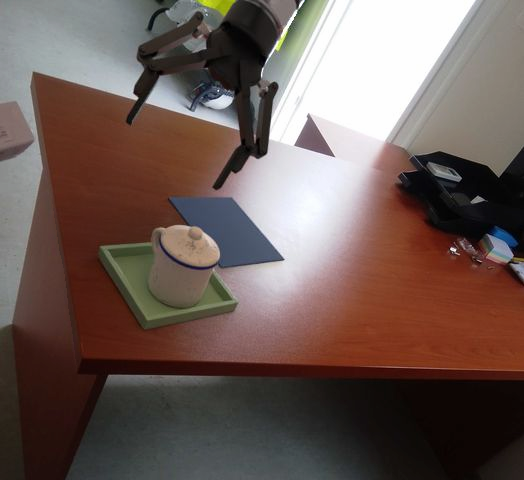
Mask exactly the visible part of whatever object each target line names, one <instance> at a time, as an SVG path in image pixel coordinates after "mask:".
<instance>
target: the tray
mask: <svg viewBox="0 0 524 480" xmlns="http://www.w3.org/2000/svg"><path fill="white" fill-rule="evenodd" d="M97 258H98V259H99V261H100V262H101V264H102V265H103V267H104V269H105V271H106V272H107V274H108V275H109V277H110V279H111V280H112V281H113V283H114V285H115V286H116V288H117V289H118V291H119V292H120V294H121V296H122V298H123V299H124V301H125V302H126V304H127V306H128V307H129V308H130V310H131V312H132V313H133V315H134V316H135V318H136V320H137V321H138V323H139V325H140V326H141V328H142V329H143V330H144V331H145V330H151V329H155V328H160V327H161V328H162V327H166V326H169V325H175V324H178V323H185V322H188V321H194V320H199V319H203V318H208V317H213V316H217V315H221V314H226V313H232V312H235V311H236V309H237V307H238V305H239V301H238V299H237V298H236V297H235V296H234V294H233V293H232V292H231V290H230V289H229V288H228V286H227V285H226V283H225V282H224V281H223V280H222V278H221V277H220V275H218V273H217V272H216V270H215V268H214V269H213V272H212V274H211V276H210V278H209V281H208V283H207V285H206V288H205V290H204V292H203V294H202V297H201V299H200V301H199V302H198V303H197V304H196V305H194V306H192V307H188V308H176V307H172V306H169V305H166V304H164V303H162V302H161V301H159V300H158V299H157V298H156V297H155V296H154V295H153V294H152V293H151V291H150V290H149V287H148V277H149V274H150V271H151V268H152V265H153V262H154V259H155V254H154V252H153V250H152V245H151V241H150V242H149V241H148V242H138V243H124V244H123V243H122V244H110V245H109V244H108V245H100V246H99V249H98V253H97Z"/></svg>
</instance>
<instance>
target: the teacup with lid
mask: <svg viewBox="0 0 524 480" xmlns="http://www.w3.org/2000/svg"><path fill="white" fill-rule="evenodd" d="M150 238H151V239H150V242H151V245H152V250H153V252H154V254H155V259H154V262H153V265H152V268H151V271H150V274H149V277H148V287H149V290H150V291H151V293H152V294H153V295H154V296H155V297H156V298H157V299H158V300H159V301H161V302H162V303H164V304H166V305H169V306H172V307H176V308H188V307H192V306H194V305H196V304H197V303H198V302H199V301H200V299H201V297H202V294H203V292H204V290H205V288H206V285H207V283H208V281H209V278H210V276H211V274H212V272H213V269H214V270H215V268H216V266H217V265H218V262H219V259H220V252H219V248H218V246H217V244H216V243H215V241H214V240H213V239H212V238H211V237H210V236H208V235H207V234H205V233H204V232H203V231H202V230H201V229H200V228H198V227H190V226H189V225H183V224H175V225H171V226H168V227H167V228H165V227H157V228H154V229H153V231H152V234H151V237H150Z"/></svg>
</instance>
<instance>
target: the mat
mask: <svg viewBox="0 0 524 480" xmlns="http://www.w3.org/2000/svg"><path fill="white" fill-rule="evenodd" d="M167 199H168V201H169V202H170V204H171V205H172V206H173V207H174V209H175V210H176V211H177V213H178V214H179V215H180V217H181V218H182V219H183V221H184V222H185V223H186V224H187V226H190V227H198V228H200V229H201V230H202V231H203V232H204V233H205V234H207V235H208V236H210V237H211V238H212V239H213V240H214V241H215V243H216V244H217V246H218V248H219V252H220V259H219V262H218V264H217V265H218V266H219V267H220V269H226V268H233V267H241V266H250V265H257V264H264V263H272V262H279V261H281V262H282V261H285V258H284V256H283V255H282V254H281V253H280V252H279V250H278V249H277V248H276V247H275V245H274V244H273V243H271V241H270V240H269V238H267V236H266V235H265V234H264V233H263V232H262V230H261V229H260V228H259V227H258V226H257V225H256V223H254V221H253V220H252V219H251V217H249V215H248V214H247V213H246V212H245V211H244V209H242V207H241V206H240V205H239V204H238V203H237V201H235V199H234V198H233V197H232V196H205V197H204V196H183V197H182V196H168V197H167Z"/></svg>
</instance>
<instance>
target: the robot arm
mask: <svg viewBox="0 0 524 480" xmlns="http://www.w3.org/2000/svg"><path fill="white" fill-rule="evenodd" d="M304 2H305V0H235V1H233V3H231V6H230V7H229V9H228V10H227V12H226V14H225V15H224V17H223V18H222V20H221V21H220V23H219V25H218V26H217V27H216V28H215V29H211V27H210V26H209V25H208V24H207V22H205V21H204V19H205V17H204V13H203V12H201V11H199V10H198V11H196V12H195V13H193V15H192V16H191V17H190V19H189V20H188V21H187V22H185V23H183V24H181V25H179V26H177V27H175V28H173V29H171V30H168V31H166V32H164V33H162V34H160V35H158V36H156V37H154V38H152V39H150V40H148V41H145V42H144V43H142V44H140V45H138V48H137V51H136V56H135V58H136V61H137V62H138V63H140V65H141V66H142V68H143V70H142V72H141V74H140V76H139V78H138V79H137V81H136V82H135V83H134V87H133V91H132V94H133V95H134V96H136V97H137V99H136V101H135V102H134V104H133V106H132V107H131V109H130V111H129V112H128V114H127V115H126V119H125V123H126V124H127V125H128V126H130V127H131V126H132V125H133V123H135V120H136V118H137V117H138V116H139V114H140V112H141V110H142V108H143V107H144V105H145V104H146V102H148V99H149V98H150V96H151V94H152V93H153V91H154V89H155V88H156V86H157V85H158V82H159V79H160V77H162V76H167V75H173V74H179V73H184V72H190V71H195V70H197V71H203V70H208V72H209V76H210V77H211V78H212V79H213V80H215V81H217V82H218V83H220V85H221V86H222V87H223V88H224V89H225V90H226V91H227V92H233V98H234V103H235V106H236V114H237V123H238V131H239V140H240V144H239V145H238V146H237V147H235V149H234V150H233V151H232V153H231V155H230V157H229V158H228V160H227V162H226V163H225V165H224V167H223V168H222V170H221V172H220V173H219V174H218V177H217V178H216V180H215V181H214V183H213V184H212V186H211V188H212V189H213V190H214V191H218V190H220V189H222V188H223V186H224V184H225V183H226V181H227V179H228V178H229V176H230V174H231V173H232V174H234V175H236V174H238V173H240V172H241V171H242V170H243V168H244V167H245V165H246V164H247V161H248V160H249V159H250V157H253V158H255V159H256V160H261V159H262V158H264V157H265V156H267V155H268V153H269V152H268V151H269V142H270V134H271V133H270V132H271V125H272V115H273V106H274V105H273V104H274V99H275V97H276V95H277V93H278V91H279V89H280V86H279V83H278V82H277V81H272V82H270V81H269V80H268V79H266V78H265V77H264V76H263V71H264V67H266V64H267V62H268V61H269V60H270V58H271V56H272V55H273V53H274V51H275V49H276V48H277V47H278V45H279V42H280V41H281V40H282V38H283V36H284V35H285V33H286V31H287V29H288V28H289V26H290V25H291V23H292V21H293V20H294V17H295V16H296V15H297V13H298V12H299V10H300V8H301V7H302V6H303V3H304ZM192 38H193V39H196V40H199V39H200V38H204V39H205V48H203V49H200V50H198V51H195V52H189V53H182V54H178V55H177V54H176V55H172V56H171V55H170V56H166V57H160V58H157V57H158V56H161V55H163V54H165V53H167V52H169V51H171V50H172V49H175V48H177V47H179V46H181V45H183V44H185V43H187V42H189V41H190V40H191V39H192ZM255 86H257V88H258V97H259V98H260V100H259V102H258V103H259V104H258V110H257V111H258V112H257V120H256V121H257V122H256V129H255V132H254V123H253V113H252V104H251V95H252V92H251V88H252V87H255Z"/></svg>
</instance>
